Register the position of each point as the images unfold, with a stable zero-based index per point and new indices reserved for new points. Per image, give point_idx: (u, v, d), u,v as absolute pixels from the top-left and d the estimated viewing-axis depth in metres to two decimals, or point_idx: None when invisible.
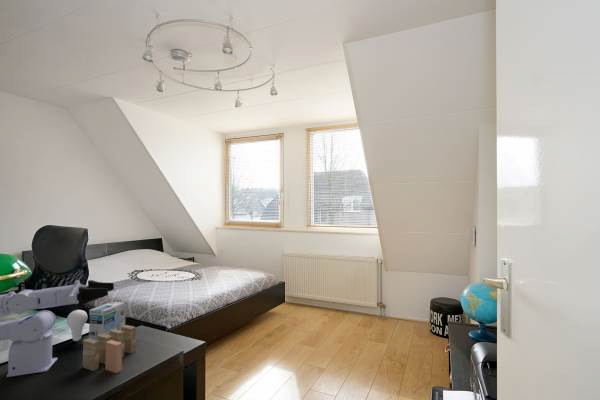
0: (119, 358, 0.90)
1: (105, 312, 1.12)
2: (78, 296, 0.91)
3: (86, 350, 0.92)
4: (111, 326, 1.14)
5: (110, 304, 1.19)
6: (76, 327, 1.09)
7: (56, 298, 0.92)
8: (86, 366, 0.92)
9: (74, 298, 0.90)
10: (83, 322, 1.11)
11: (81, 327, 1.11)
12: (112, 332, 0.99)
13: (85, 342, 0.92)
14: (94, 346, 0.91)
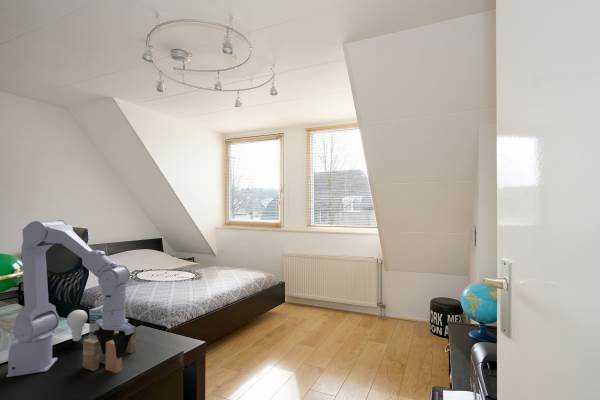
0: (119, 358, 0.90)
1: None
2: None
3: (86, 350, 0.92)
4: None
5: None
6: (76, 327, 1.09)
7: (120, 310, 0.90)
8: (86, 366, 0.92)
9: (130, 332, 0.88)
10: (83, 322, 1.11)
11: (81, 327, 1.11)
12: None
13: (85, 342, 0.92)
14: (94, 346, 0.91)
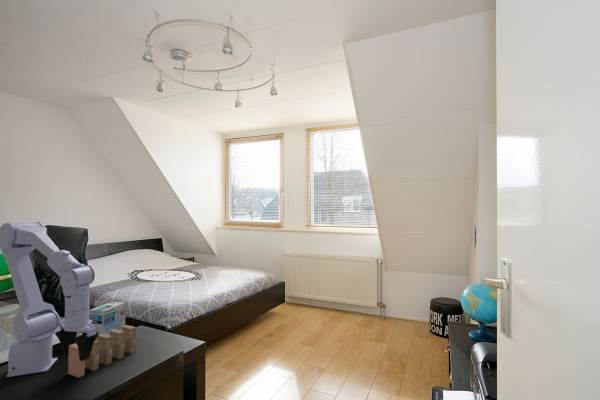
0: (81, 362, 0.88)
1: (105, 312, 1.12)
2: None
3: None
4: (111, 326, 1.14)
5: (110, 304, 1.19)
6: None
7: (82, 311, 0.88)
8: (86, 366, 0.92)
9: (93, 333, 0.86)
10: None
11: None
12: (112, 332, 0.99)
13: None
14: (94, 346, 0.91)
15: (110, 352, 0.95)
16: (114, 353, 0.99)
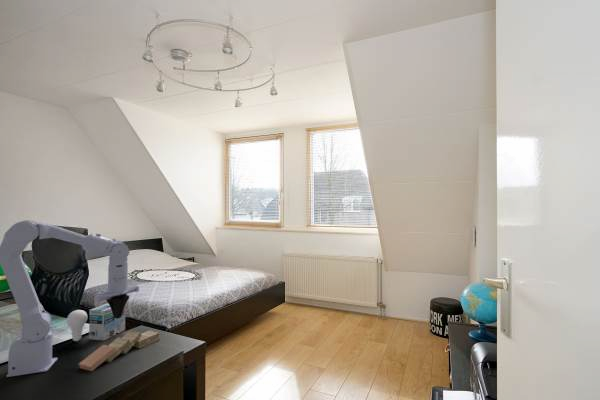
0: (103, 358, 0.93)
1: (105, 312, 1.12)
2: (110, 299, 1.03)
3: (114, 344, 1.01)
4: (111, 326, 1.14)
5: None
6: (76, 327, 1.09)
7: (109, 279, 1.03)
8: None
9: (96, 300, 0.99)
10: (83, 322, 1.11)
11: (81, 327, 1.11)
12: (151, 331, 1.13)
13: (119, 338, 1.03)
14: (126, 342, 1.01)
15: (131, 345, 1.03)
16: None
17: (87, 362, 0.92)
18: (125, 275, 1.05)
